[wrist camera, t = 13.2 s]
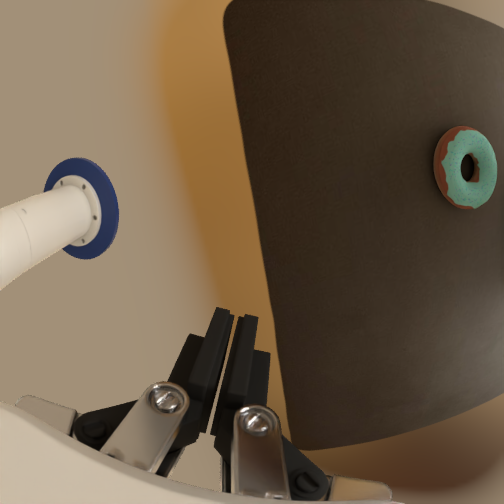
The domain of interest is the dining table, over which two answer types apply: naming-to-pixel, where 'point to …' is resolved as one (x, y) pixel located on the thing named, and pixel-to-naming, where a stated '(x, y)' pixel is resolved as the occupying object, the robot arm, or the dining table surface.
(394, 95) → the dining table surface
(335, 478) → the robot arm
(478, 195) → the donut
